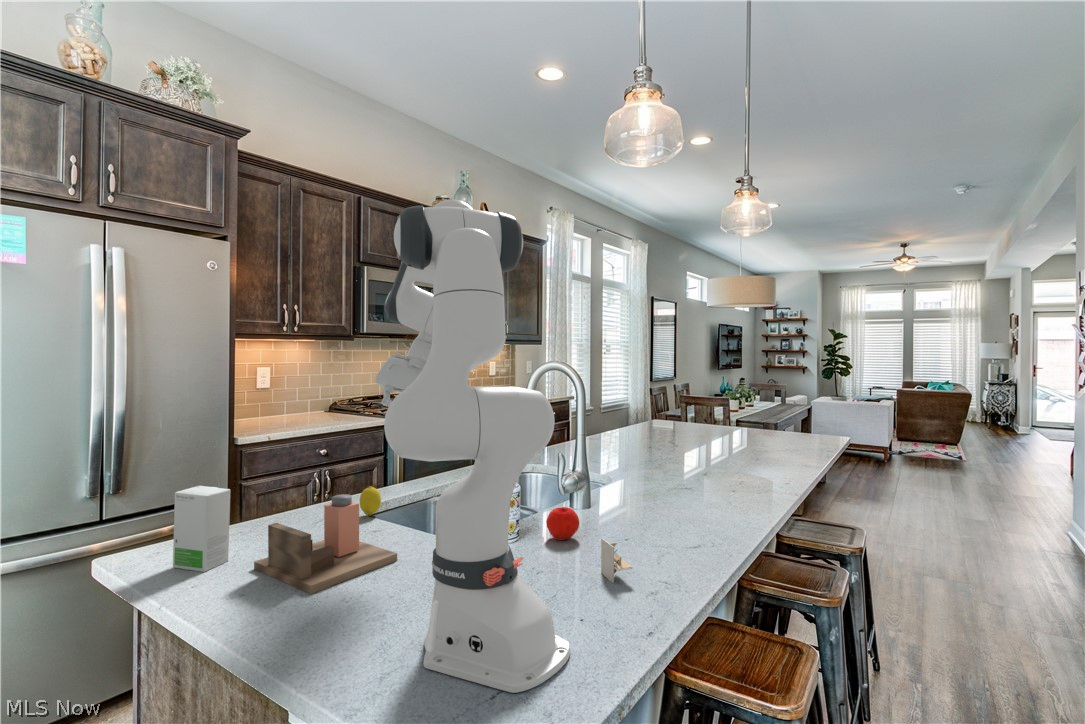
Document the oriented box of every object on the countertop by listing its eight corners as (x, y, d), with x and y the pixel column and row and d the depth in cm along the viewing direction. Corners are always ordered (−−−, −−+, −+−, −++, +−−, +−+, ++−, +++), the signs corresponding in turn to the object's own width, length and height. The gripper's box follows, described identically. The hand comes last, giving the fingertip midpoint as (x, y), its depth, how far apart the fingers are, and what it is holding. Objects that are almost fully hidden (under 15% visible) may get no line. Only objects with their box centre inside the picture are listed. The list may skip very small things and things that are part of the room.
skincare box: (171, 568, 112) (171, 492, 112) (199, 556, 119) (198, 484, 119) (205, 572, 110) (205, 495, 110) (231, 560, 117) (231, 487, 117)
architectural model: (616, 572, 113) (616, 536, 113) (632, 586, 106) (632, 547, 106) (600, 574, 112) (600, 537, 111) (615, 588, 105) (616, 549, 105)
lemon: (374, 519, 146) (374, 489, 146) (355, 518, 147) (355, 488, 147) (384, 513, 151) (384, 484, 151) (366, 512, 152) (366, 483, 152)
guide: (397, 560, 117) (397, 515, 117) (310, 593, 101) (310, 542, 101) (340, 541, 129) (339, 500, 129) (254, 568, 112) (253, 522, 112)
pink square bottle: (359, 550, 118) (359, 496, 118) (338, 557, 114) (338, 501, 114) (344, 545, 121) (344, 492, 121) (324, 551, 117) (324, 497, 117)
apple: (566, 547, 126) (566, 514, 126) (539, 539, 131) (539, 508, 130) (585, 537, 132) (585, 506, 132) (558, 531, 137) (558, 501, 137)
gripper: (385, 346, 139) (359, 395, 133) (452, 359, 130) (428, 411, 125) (397, 359, 144) (373, 406, 139) (463, 372, 136) (440, 423, 130)
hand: (400, 409), depth 132 cm, fingers open, 8 cm apart
